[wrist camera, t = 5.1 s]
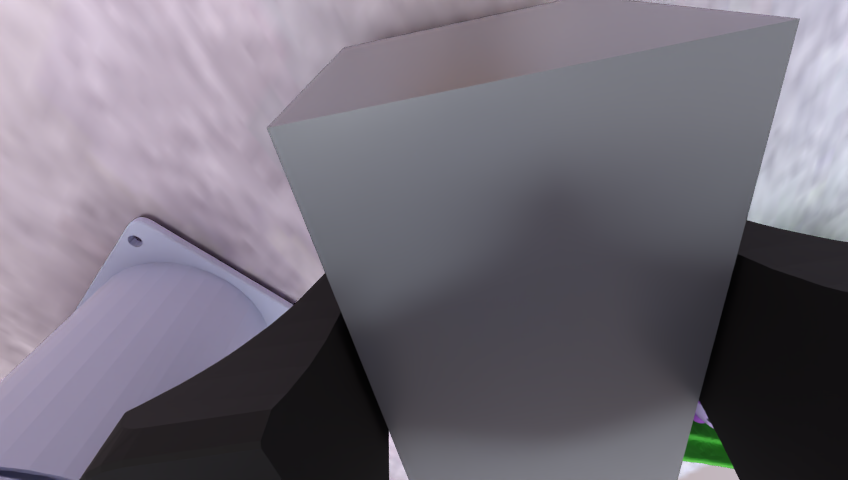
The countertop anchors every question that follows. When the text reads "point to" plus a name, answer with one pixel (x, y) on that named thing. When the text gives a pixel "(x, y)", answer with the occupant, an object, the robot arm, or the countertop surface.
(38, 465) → the robot arm
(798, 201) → the countertop surface
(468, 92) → the grey rectangular block
